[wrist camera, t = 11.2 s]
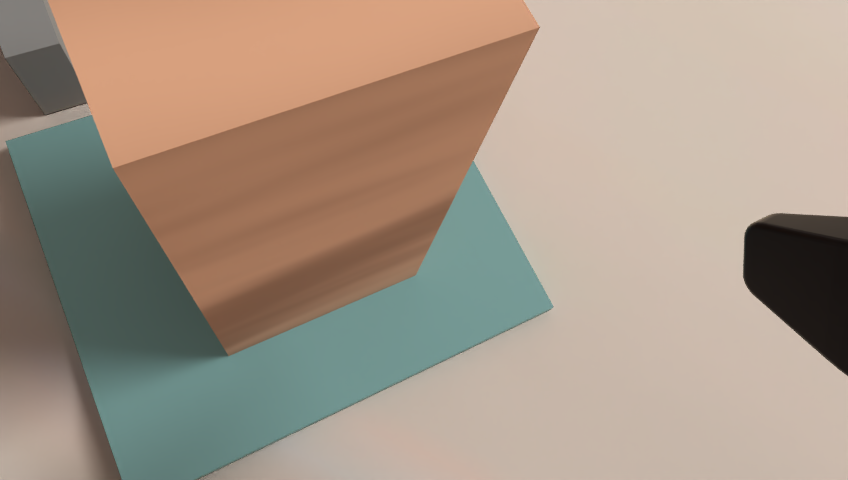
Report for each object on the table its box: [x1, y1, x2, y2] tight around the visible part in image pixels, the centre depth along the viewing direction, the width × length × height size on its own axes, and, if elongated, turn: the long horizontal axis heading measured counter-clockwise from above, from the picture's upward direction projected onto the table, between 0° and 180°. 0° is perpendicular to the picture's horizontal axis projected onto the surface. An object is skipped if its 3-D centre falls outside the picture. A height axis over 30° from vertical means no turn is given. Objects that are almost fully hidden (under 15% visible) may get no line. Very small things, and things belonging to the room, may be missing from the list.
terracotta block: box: [48, 0, 540, 356], centre depth 12 cm, size 5×5×10 cm
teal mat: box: [6, 115, 553, 480], centre depth 17 cm, size 10×11×1 cm
